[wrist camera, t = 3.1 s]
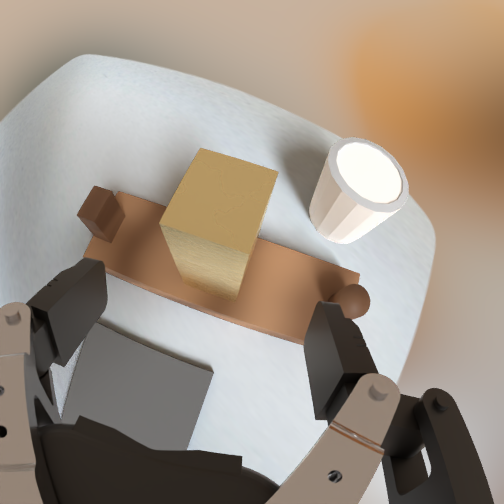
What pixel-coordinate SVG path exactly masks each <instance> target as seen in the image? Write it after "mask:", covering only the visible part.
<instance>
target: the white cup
mask: <svg viewBox="0 0 504 504" xmlns="http://www.w3.org/2000/svg"><path fill="white" fill-rule="evenodd" d="M407 199H408V181H407V179H406V176H405V174H404V171H403V169H402V168H401V166H400V165H399V164H398V163H397V161H396V160H395V158H394V157H393V156H392V155H391V154H389V153H388V152H387V151H386V150H384V149H383V148H382V147H381V146H379V145H377V144H375V143H373V142H371V141H368V140H366V139H360V138H354V137H350V138H345V139H340V140H338V141H337V142H336V143H335V144H334V145H333V146H332V147H330V150H329V153H328V156H327V159H326V162H325V164H324V167H323V170H322V173H321V175H320V178H319V181H318V184H317V186H316V189H315V192H314V194H313V197H312V200H311V203H310V207H309V214H310V220H311V222H312V224H313V225H314V227H315V229H316V230H317V231H318V232H319V233H320V234H321V235H322V236H323V237H325V238H326V239H328V240H330V241H333V242H335V243H351V242H353V241H355V240H357V239H358V238H360V237H361V236H363V235H364V234H366V233H367V232H369V231H370V230H371V229H373V228H374V227H376V226H377V225H379V224H380V223H381V222H383V221H384V220H386V219H387V218H388V217H390V216H391V215H393V214H394V213H395V212H397V211H398V210H399V209H401V208H402V207H403V205H404V204H405V202H406V200H407Z"/></svg>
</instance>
